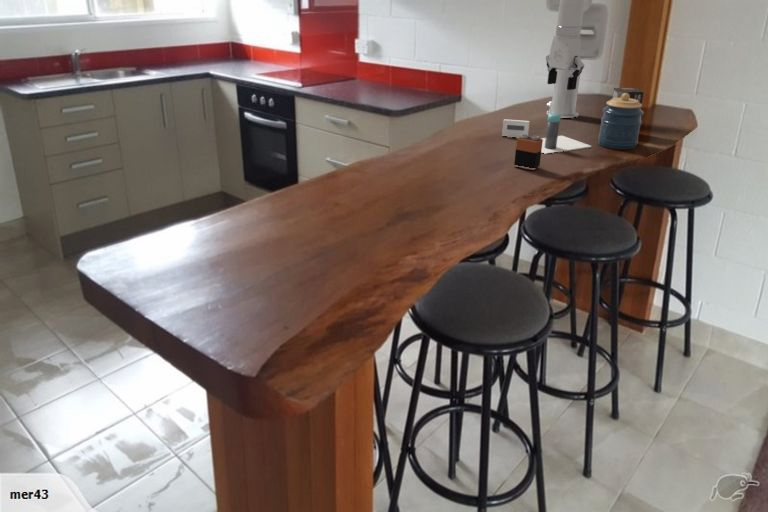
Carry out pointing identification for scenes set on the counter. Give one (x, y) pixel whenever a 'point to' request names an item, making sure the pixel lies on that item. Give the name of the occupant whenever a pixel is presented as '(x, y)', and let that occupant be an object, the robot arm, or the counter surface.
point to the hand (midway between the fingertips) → (561, 86)
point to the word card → (515, 128)
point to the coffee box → (633, 93)
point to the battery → (528, 151)
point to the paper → (564, 145)
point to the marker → (552, 131)
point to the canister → (620, 123)
